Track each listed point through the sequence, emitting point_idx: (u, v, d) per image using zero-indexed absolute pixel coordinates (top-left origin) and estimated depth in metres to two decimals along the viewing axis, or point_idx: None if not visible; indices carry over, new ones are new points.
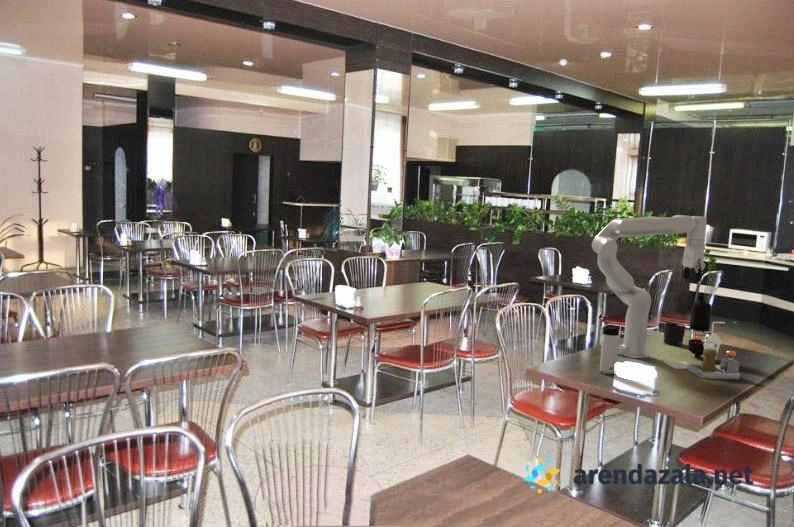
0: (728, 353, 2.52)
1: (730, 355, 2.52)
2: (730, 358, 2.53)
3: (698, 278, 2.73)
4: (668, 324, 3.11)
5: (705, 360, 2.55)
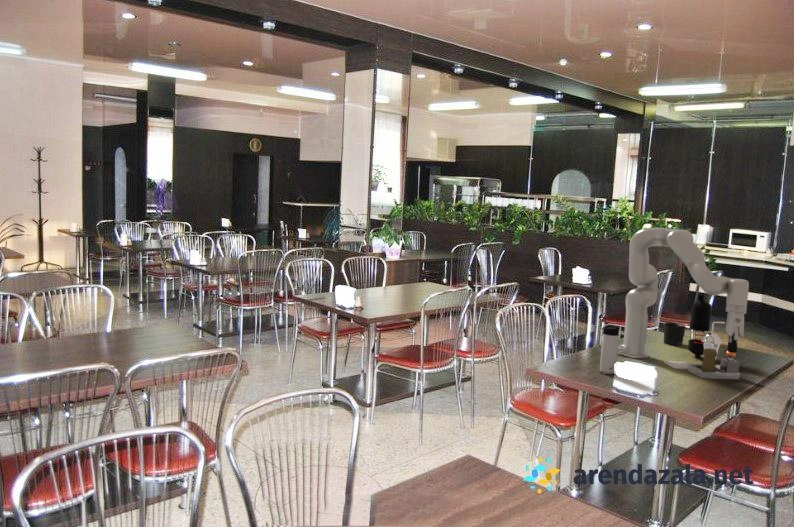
0: (728, 353, 2.52)
1: (730, 355, 2.52)
2: (730, 358, 2.53)
3: None
4: (668, 324, 3.11)
5: (705, 360, 2.55)
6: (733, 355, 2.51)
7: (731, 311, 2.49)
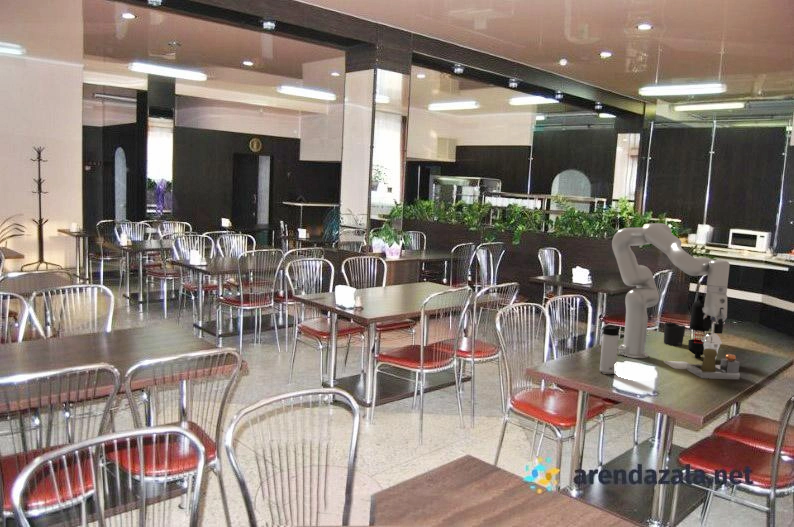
0: (728, 357, 2.52)
1: (730, 359, 2.52)
2: None
3: None
4: (668, 324, 3.11)
5: (705, 360, 2.55)
6: (733, 358, 2.51)
7: (715, 292, 2.49)
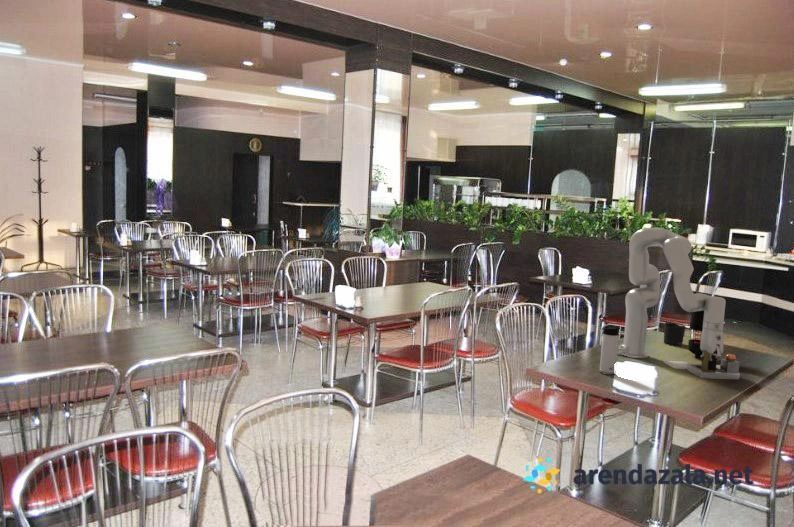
0: (728, 357, 2.52)
1: (730, 359, 2.52)
2: None
3: None
4: (668, 324, 3.11)
5: (705, 360, 2.55)
6: (733, 358, 2.51)
7: (711, 329, 2.51)
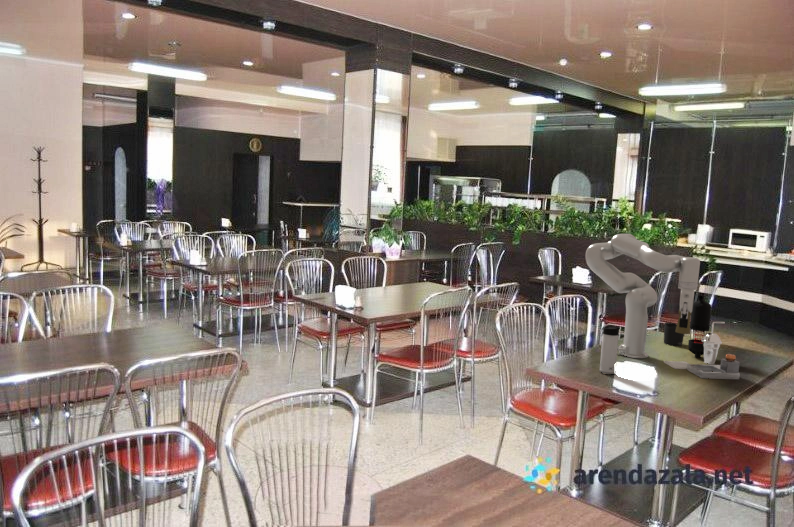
0: (728, 357, 2.52)
1: (730, 359, 2.52)
2: None
3: None
4: (668, 324, 3.11)
5: (679, 318, 2.66)
6: (733, 358, 2.51)
7: (681, 287, 2.62)
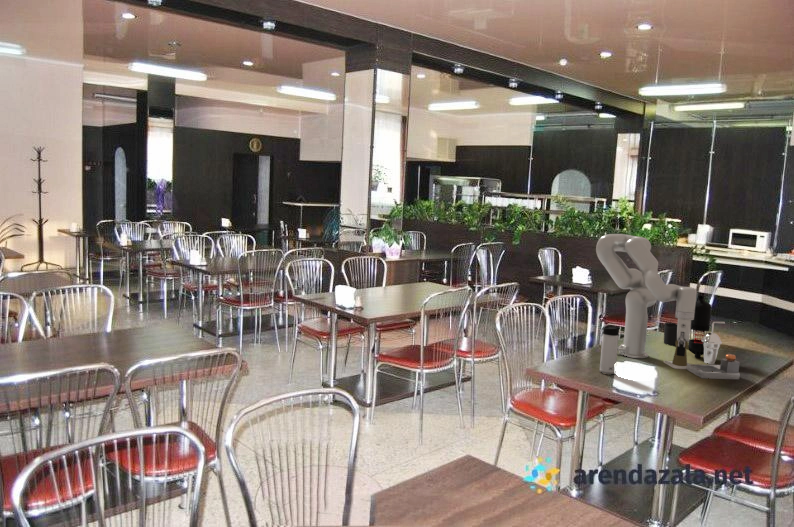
0: (728, 357, 2.52)
1: (730, 359, 2.52)
2: None
3: None
4: (668, 324, 3.11)
5: (675, 350, 2.68)
6: (733, 358, 2.51)
7: (678, 317, 2.64)
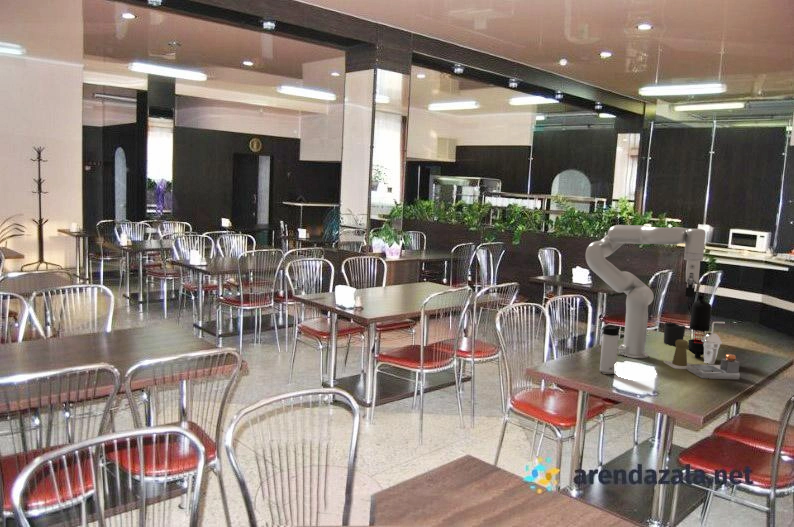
0: (728, 357, 2.52)
1: (730, 359, 2.52)
2: None
3: None
4: (668, 324, 3.11)
5: (675, 350, 2.68)
6: (733, 358, 2.51)
7: (687, 258, 2.64)
